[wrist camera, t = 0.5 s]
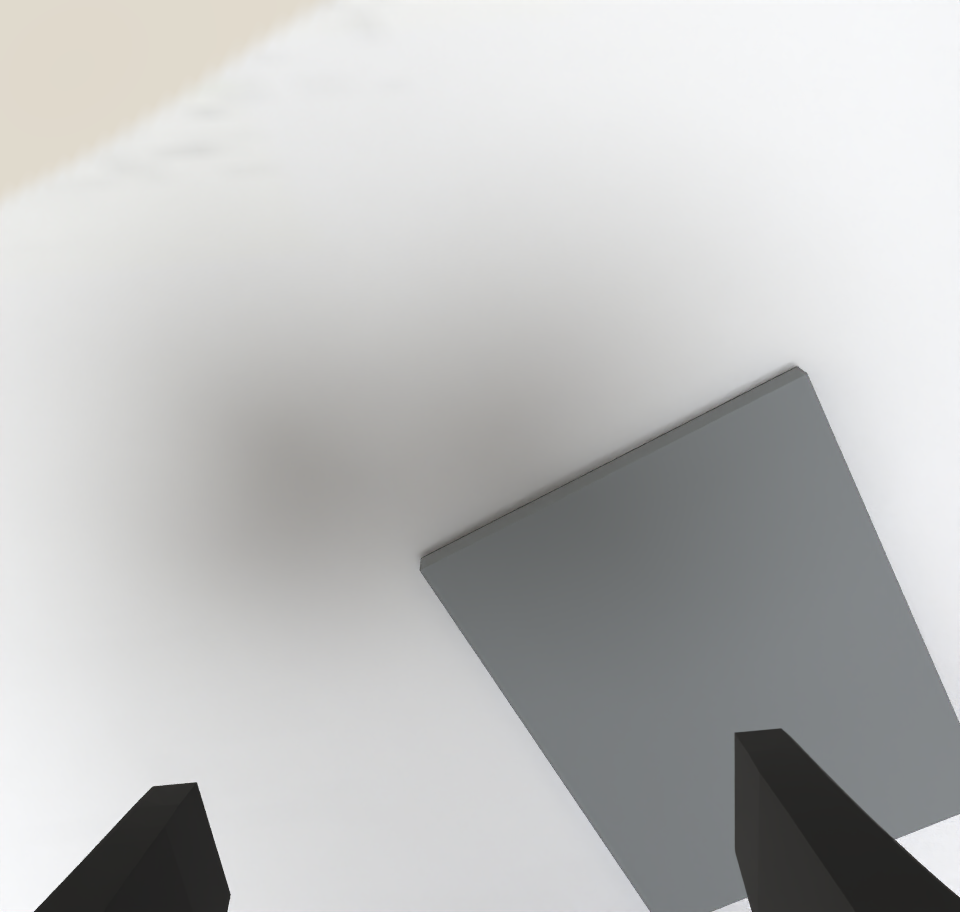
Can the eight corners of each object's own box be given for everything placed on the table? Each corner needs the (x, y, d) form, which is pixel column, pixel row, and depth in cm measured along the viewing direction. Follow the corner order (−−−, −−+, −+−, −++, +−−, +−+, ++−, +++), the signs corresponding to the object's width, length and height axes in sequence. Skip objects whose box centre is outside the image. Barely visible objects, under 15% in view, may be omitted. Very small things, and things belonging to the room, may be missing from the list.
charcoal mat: (981, 784, 24) (993, 800, 23) (659, 913, 25) (663, 930, 25) (797, 366, 19) (807, 373, 18) (421, 558, 21) (419, 570, 20)
